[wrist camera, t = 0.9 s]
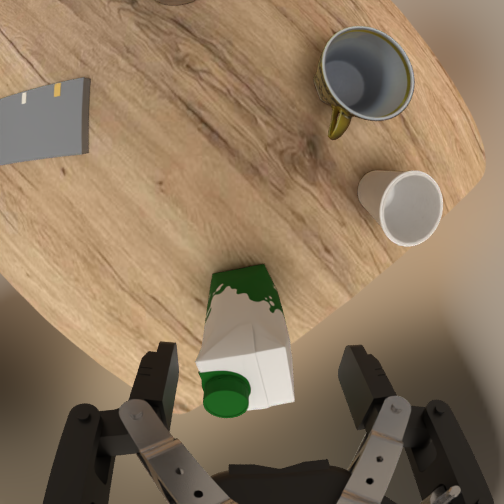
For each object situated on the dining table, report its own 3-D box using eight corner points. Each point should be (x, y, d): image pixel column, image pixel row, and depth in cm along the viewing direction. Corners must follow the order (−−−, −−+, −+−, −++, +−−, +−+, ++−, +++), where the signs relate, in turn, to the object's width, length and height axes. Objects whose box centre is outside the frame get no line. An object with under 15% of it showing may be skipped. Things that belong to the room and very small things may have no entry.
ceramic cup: (320, 35, 31) (346, 8, 21) (386, 75, 33) (426, 63, 23) (275, 119, 35) (290, 114, 25) (346, 156, 37) (380, 165, 27)
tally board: (-32, 113, 29) (-40, 114, 27) (90, 79, 31) (83, 77, 29) (-31, 170, 33) (-39, 173, 31) (88, 153, 35) (81, 154, 33)
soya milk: (204, 268, 41) (183, 374, 23) (270, 255, 41) (297, 356, 23) (219, 321, 45) (213, 434, 26) (280, 310, 44) (306, 420, 26)
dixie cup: (395, 153, 37) (438, 163, 27) (406, 210, 40) (446, 233, 30) (341, 169, 37) (373, 182, 28) (355, 228, 40) (387, 257, 31)
